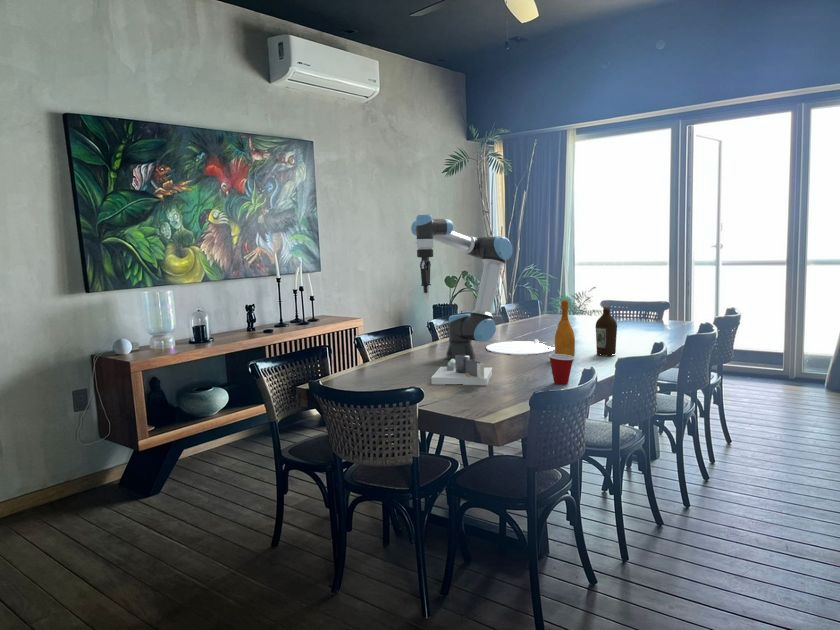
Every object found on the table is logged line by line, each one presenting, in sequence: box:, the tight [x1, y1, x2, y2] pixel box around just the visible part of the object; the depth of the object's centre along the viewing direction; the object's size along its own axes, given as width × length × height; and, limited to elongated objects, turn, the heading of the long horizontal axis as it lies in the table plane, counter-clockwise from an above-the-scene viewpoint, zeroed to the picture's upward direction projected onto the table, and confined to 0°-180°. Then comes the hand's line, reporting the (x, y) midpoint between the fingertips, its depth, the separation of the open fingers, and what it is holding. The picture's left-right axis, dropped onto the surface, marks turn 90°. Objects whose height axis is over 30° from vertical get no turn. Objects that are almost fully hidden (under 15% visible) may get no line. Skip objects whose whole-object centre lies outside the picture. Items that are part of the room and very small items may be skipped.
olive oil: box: [595, 306, 618, 355], centre depth 316 cm, size 11×11×25 cm
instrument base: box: [430, 359, 493, 386], centre depth 273 cm, size 22×24×7 cm
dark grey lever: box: [454, 354, 485, 379], centre depth 266 cm, size 21×6×7 cm, turn 22°
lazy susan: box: [485, 338, 555, 356], centre depth 343 cm, size 40×39×3 cm
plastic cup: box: [548, 353, 576, 386], centre depth 259 cm, size 11×11×12 cm
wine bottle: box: [554, 300, 576, 357], centre depth 307 cm, size 10×10×30 cm
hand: (426, 299), depth 284 cm, fingers closed
